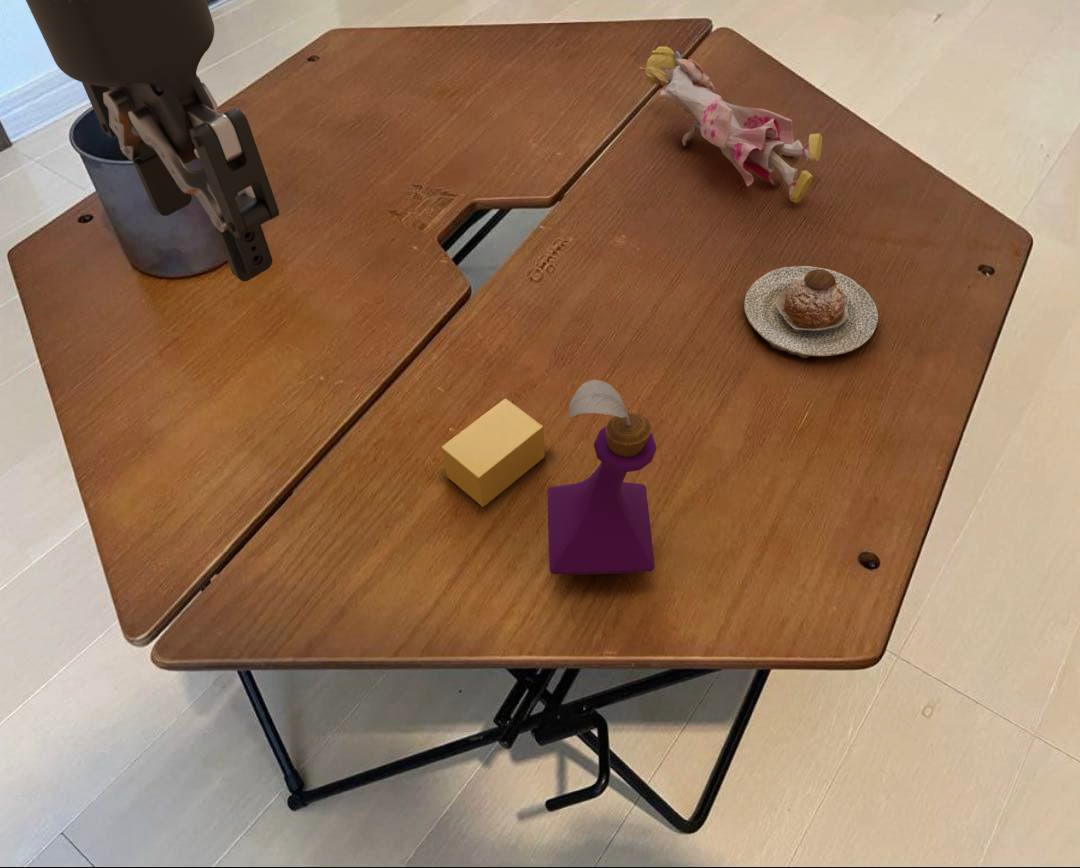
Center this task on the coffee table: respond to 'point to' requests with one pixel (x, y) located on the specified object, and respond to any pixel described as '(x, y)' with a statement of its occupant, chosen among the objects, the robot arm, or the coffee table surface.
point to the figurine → (733, 123)
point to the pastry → (810, 311)
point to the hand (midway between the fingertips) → (213, 239)
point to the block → (493, 451)
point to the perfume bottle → (604, 495)
